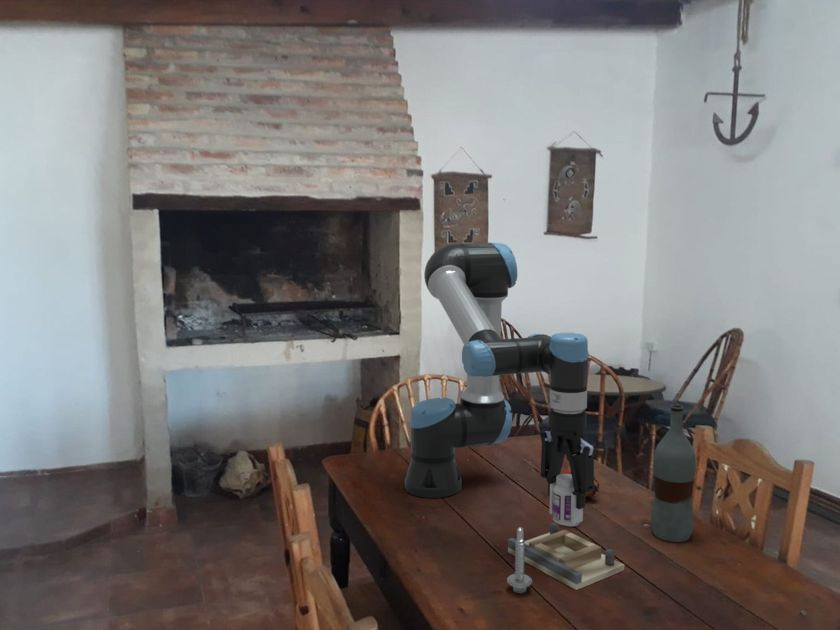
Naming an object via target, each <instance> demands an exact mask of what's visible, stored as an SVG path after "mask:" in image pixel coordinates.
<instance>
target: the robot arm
mask: <svg viewBox="0 0 840 630" xmlns="http://www.w3.org/2000/svg"><path fill="white" fill-rule="evenodd" d="M517 281H518V264H517V261H516V257H515V254H514V253H513V251H512V249H511V247H509V245H508V244H505V243H502V242H500V243H499V242H492V241H491V242H490V241H489V242H472V243H470V242H469V243H450V244H446V245H443V246H441V247H439V248H438V249H437V250H436V251H434V252H433V253H432V254H431V255H430V257H429V259H428V261H427V263H426V265H425V268H424V282H425V283H424V284H425V285H426V288H427V290H428V292H429V293H430V295H431V296H432V297H433V298H435V299H436V300H439V303H440V304H441V306H442V308H443V309H444V312H445V313H446V315H447V317H448V318H449V321H450V322H451V324H452V326H453V327H454V329H455V331H456V333H457V335H458V336H459V338H460V340H461V341H462V343H463V346H462V349H461V361H462V365H463V369H464V372H465V373H466V389H465V390H464V391H463V392H461V394H460V402H459V403H456V402H455V401H454V399H452V398H450V397H442V398H440V397H435V398H433V397H432V398H428V399H425V400H422V401H419V402H418V403H416V404H415V405H413V406H412V408H411V410H410V411H411V412H410V421H409V426H410V461H409V465H408V469H407V472H406V476H405V477H404V490H405V489H406V490H405V491H406V492H407V493H408V492H409V493H408V494H410V495H412V496H416V497H419V498H427V499H435V498H437V499H440V498H446V497H451V496H454V495H456V494H458V493H459V492H461V490H462V485H463V484H462V483H463V481H462V477H461V474H460V470H459V468H458V465H457V462H456V449H458V448H459V449H461V448H468V447H469V448H470V447H480V446H492V445H494V444H500V443H503V442H504V441H506V439H507V438H508V437H509V435H510V433H511V429H512V425H513V413H511V412H512V407H511V405H510V403H509V402H508V400H506V399H505V395H504V394H503V393H502V392H501V391H500V376H504V375H514V374H516V375H517V374H531V373H545V374H548V375H549V408H550V409H549V412H548V414H549V415H548V426H549V427H550V428H551V429H550V430H545V431H542V432H539V434H540V435H539V436H540V441H541V457H540V458H541V459H540V477H541V478H542V479H543V478H545V479H546V482H547V495H548V497H549V515H551V516H553V488H554V486H555V485H556V484H557V483H556V476H557V475H559V474H561V473H562V472H561V471H562V468H563V464H564V459H565V457H566V460H567V461H568V462H569V466H570V469H571V475H572V480H573V486H574V492H572V493H571V524H576V523H579V522H580V523H582V522H583V521H584V520H583V519H584V508H586V501H585V499H586V496H585V494H586V493H589V492H592V491H594V481H595V480H594V476H595V454H596V450H597V446H596V445H595V444H590V443H588V441H586V437H585V430H586V428H587V414H588V413H587V411H586V409H587V408H588V373H589V354H590V353H589V349H588V348H589V347H588V346H589V343H588V338H587V336H586V335H584V334H582V333H575V332H557V333H554V334H552V335H548V334H543V333H542V334H541V333H534V334H530V335H529V336H528V337H516V338H501V335H502V334H501V333H502V331H501V330H502V309H503V308H502V303H503V301H505V299H506V298H507V297H508V295H509V289H511V288H513V287H515V286H516V284H517ZM580 486H581V487H580Z"/></svg>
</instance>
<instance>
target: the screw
mask: <svg viewBox="0 0 840 630" xmlns="http://www.w3.org/2000/svg"><path fill="white" fill-rule="evenodd" d="M515 539H516V542H515V544H516V545H515V547H516V548H515V550H516V551H515V553H516V554H515V556H514V559H515V560H514V561H515V562H514V567H515V568H514V570H515V571H514V573H512V574H509V576H508V577H507V578H506V582H507V584H508V585H509V586H511V587H512V591H513V593H516V594H517V593H518V594H523V593H526V592H527V588H528V587H530V586H531V585H532V584H533V579H532V578H531V577H530V576H529V575H527V574H525V563H526V562H525V561H524V560H525V559H524V557H525V556H524V554H525V553H524V552H525V550H524V549H525V547H524V546H525V544H524V543H525V542H524V541H525V538H524V528H523V527H522V526H520V527H518V528H517V529H516V538H515Z"/></svg>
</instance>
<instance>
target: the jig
mask: <svg viewBox="0 0 840 630" xmlns="http://www.w3.org/2000/svg"><path fill="white" fill-rule="evenodd" d="M516 539H517V538H514V537H510V538H508V539H507V553H509V554H510V555H512V556H514V557H516V556H515V554H516V553H515V551H516V550H515V548H516V547H515V545H516V544H515V542H516ZM524 542H525V543H524V544H525V546H524V547H525V549H524V550H525V552H524V553H525V554H524V556H525V557H524V559H525V560H524V562H525V563H527V564H529V565H530V566H532V567H534V568H536V569H537V570H539V571H541V572H542V573H545V574H546V575H548V576H550V577H551V578H554V579H556V580H557V581H559V582H561V583H563V584H564V585H566V586H568V587H569V588H572V589H573V590H576V591H578V590H581V589H582V588H585V587H587V586H589V585H592V584H594V583H597V582H599V581H602V580H604V579H607V578H609V577H611V576H613V575H617V574H618V573H621V572H623V571H625V564H624V563H622V562H620V561H618V560H616V559H615V550H614V549H612V548H607V549H605V552H604V553H605V554H603V553H602V549H603V548H602V547H601V546H599V545H597V544H595V543H593V542H591V541H589V540H587V539H585V538H582V537H580V536H578V535H577V534H574V533H572V532H570V531H568V530H566V529H562V530H560V531H559V524H558V523H556V522H551V523H550V524H549V532H547V533H544V534H541V535H538V536H536V537H533V538H530V539H527V540H524Z"/></svg>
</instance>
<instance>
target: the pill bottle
mask: <svg viewBox="0 0 840 630" xmlns="http://www.w3.org/2000/svg"><path fill="white" fill-rule="evenodd" d="M556 483H557V484H556V485H555V486H554V488H553V515H552V521H553V523H557V524H558V525H560V526H564V527H567V526H566V525H574V524H571V493H572V492H574V486H573V480H572V475H571V474H562V473H560V474H559V475H557V476H556Z"/></svg>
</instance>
